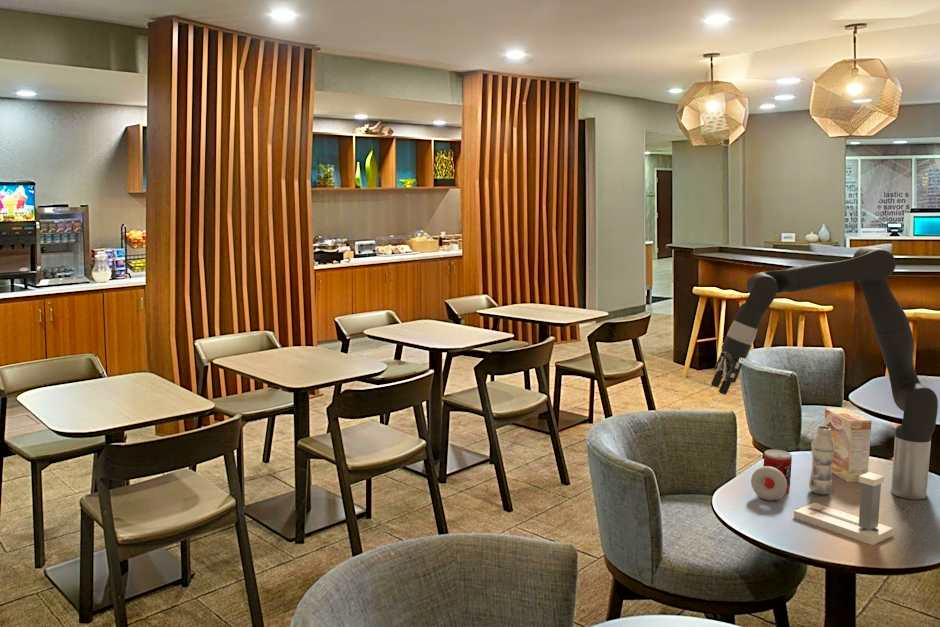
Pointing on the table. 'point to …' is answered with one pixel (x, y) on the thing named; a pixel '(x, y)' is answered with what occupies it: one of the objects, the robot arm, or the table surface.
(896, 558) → the table surface
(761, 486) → the donut
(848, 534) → the fader deck
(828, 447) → the plastic bottle
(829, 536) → the table surface
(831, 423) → the coffeecake box
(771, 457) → the canned food
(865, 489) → the slider knob
